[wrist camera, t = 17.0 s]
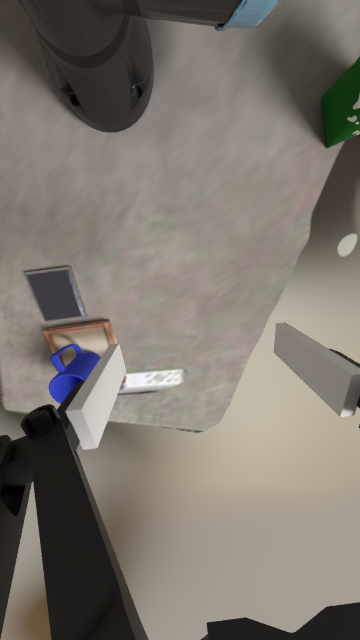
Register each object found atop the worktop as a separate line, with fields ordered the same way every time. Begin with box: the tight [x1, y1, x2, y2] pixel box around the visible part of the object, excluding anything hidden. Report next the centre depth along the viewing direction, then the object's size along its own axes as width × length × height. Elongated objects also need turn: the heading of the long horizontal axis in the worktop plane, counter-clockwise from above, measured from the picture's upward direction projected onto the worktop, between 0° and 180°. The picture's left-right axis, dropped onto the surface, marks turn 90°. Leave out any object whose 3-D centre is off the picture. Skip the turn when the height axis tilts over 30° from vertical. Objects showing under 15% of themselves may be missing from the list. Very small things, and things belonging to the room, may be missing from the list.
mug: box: [49, 344, 101, 404], centre depth 39 cm, size 8×12×10 cm
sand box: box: [43, 320, 126, 383], centre depth 44 cm, size 17×15×2 cm
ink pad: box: [26, 266, 87, 322], centre depth 38 cm, size 11×9×1 cm
